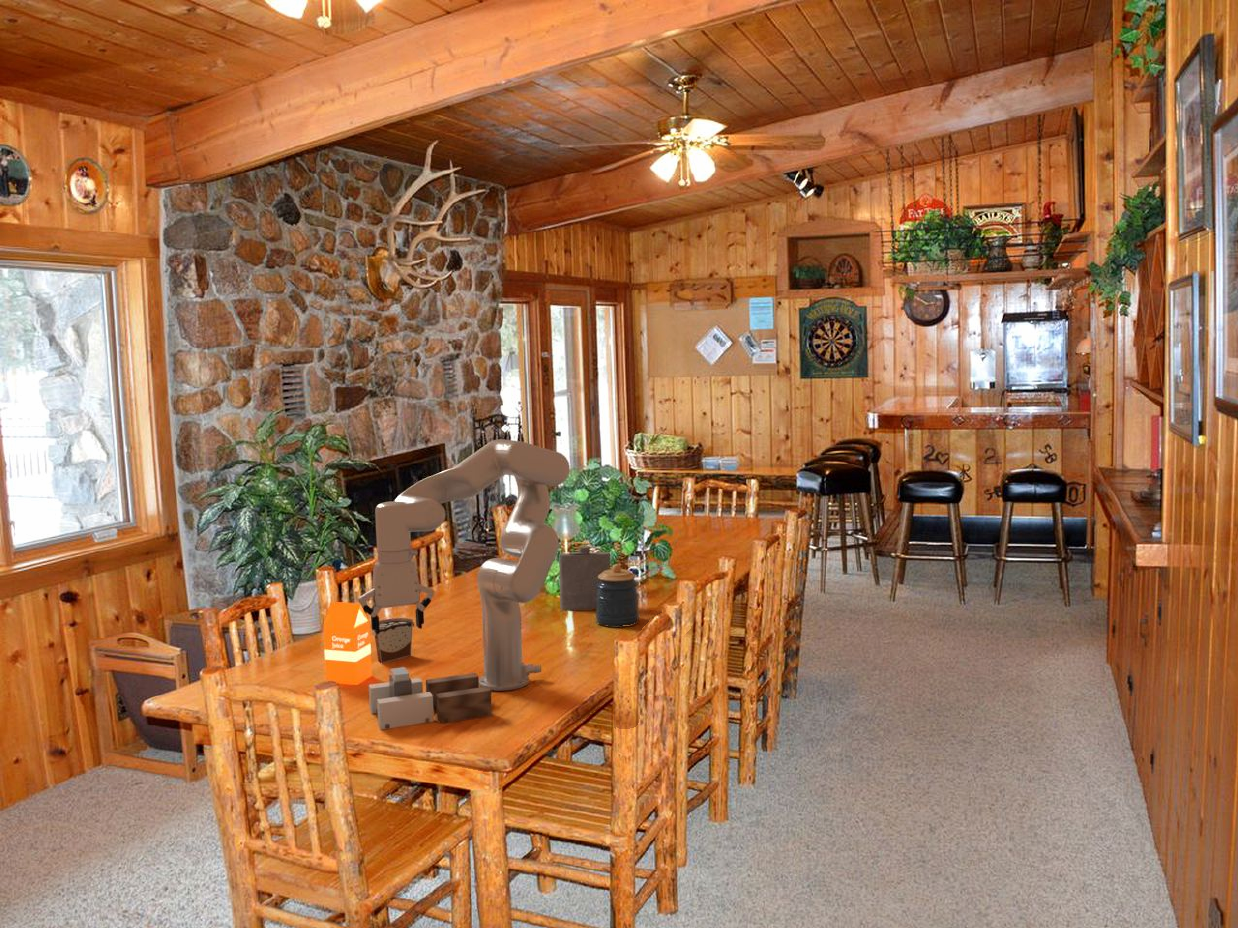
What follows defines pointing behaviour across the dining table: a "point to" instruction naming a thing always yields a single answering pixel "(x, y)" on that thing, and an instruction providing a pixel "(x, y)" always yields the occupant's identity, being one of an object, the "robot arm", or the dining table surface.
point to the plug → (400, 682)
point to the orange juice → (347, 644)
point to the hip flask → (581, 578)
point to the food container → (394, 639)
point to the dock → (401, 705)
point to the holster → (459, 698)
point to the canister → (617, 597)
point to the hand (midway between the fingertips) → (398, 629)
